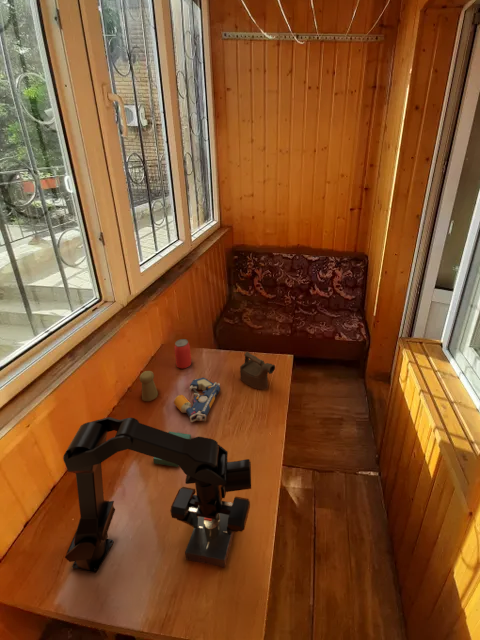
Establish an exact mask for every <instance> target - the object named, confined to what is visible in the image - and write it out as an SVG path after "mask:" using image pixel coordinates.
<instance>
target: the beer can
mask: <svg viewBox="0 0 480 640" xmlns="http://www.w3.org/2000/svg"><path fill="white" fill-rule="evenodd" d="M191 353H192V352H191V346H190V342H189V340H188V339H186V338H180V339H178V340H176V341H175V342H174V356H175V364H176V367H177V368H178V369H186V368H188V367H190V366H191V364H192V354H191Z"/></svg>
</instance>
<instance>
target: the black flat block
mask: <svg viewBox="0 0 480 640" xmlns="http://www.w3.org/2000/svg"><path fill="white" fill-rule="evenodd" d="M219 515H220V524H221V530H220V533H219V535H218V536H217V537H215V538H213V539H209V538H207V537H206V535H205V529H204V517H200V516H198V525H197V528H194V527H193V529H192V532H191V535H190V537H189V540H188V543H187V546H186V548H185V550H184V556H185V560H186V561H191V562H196V563H201V564H206V565H211V566H216V567H221V568H226V567H227V562H228V557H229V554H230V550H231V546H232V543H233V538H234V535H235V532H233V533H231V535H228V533H227V526H228V518H229V515H227V514H221V513H219Z"/></svg>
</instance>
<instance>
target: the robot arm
mask: <svg viewBox="0 0 480 640" xmlns="http://www.w3.org/2000/svg"><path fill="white" fill-rule="evenodd" d="M114 431H115V432H116V433H115V435H114V437H110V438H109V439H107V435H108V433H109V432H114ZM168 432H169V431H168ZM168 432H167V431H165V430H162V429H158V428H156V427H154V426H150V425H148V424H144V423H141V422H140V421H139V420H138V419H137V418H135V417H126V418H122V419H118V418H114V417H111V416H108V417H103V418H100V419H96V420H92V421H89V422H88V421H87V422H85V423H83V424H81V425H80V426H79V428H78V429H77V431H76V433H75V435H74V437H73V438H72V440H71V442H70V444H69V445H68V447H67V449H66V451H65V453H64V454H63V457H62V459H63V462H64V465H65V468H66V470H67V471H68V473H73V474H74V475H75V478H76V490H77V498H78V506H79V515H80V517H79V522H78V524H77V528H76V530H75V533H74V535H73V537H72V539H71V542H70V544H69V547H68V549H67V551H66V554H65V556H64V558H65V559H66V561H68V562H69V563H72V562H73V563H72V566H71V567H72V569H73V570H77V571H81V572H86V573H91V574H96V573H98V571H99V570H100V568H101V566H102V565H103V563H104V561H105V559H106V557H107V555H108V553H109V552H110V550H111V548H112V546H113V544H114V539H111V538H108V537H109V534H108V532H109V529H110V526H111V523H112V520H113V517H114V516H115V515H114V514H115V512H116V508H115V505H114V504H115V500H107V499H105V495H104V483H103V469H102V463H103V462H105V461H106V460H107V459H110V458H111V457H112V456H113V455H115V454H117V453H119V452H122V451H126V450H130V451H133V452H137V453H139V454H142V455H146V456H149V457H152V458H154V457H155V458H159V459H162V460H165V461H168V462H171V463H175V464H177V465H178V467H179V468H180V469H181V471H182V472H183V473H184V474H185V475H186V476H185V484H186V485H190V484H195V488H192V487H187V486H182V487H180V488H179V490H177V493H176V495H175V497H174V500H173V502H172V504H171V506H170V516H171V518H172V519H176V520H177V521H180V522H181V523H184V524H186V525H189V526H190V527H192V528H193V529H194V528H197V525H198V516H200V517H205V518H210V519H216V516H217V514H218V513H221V514H227V515H229V518H228V526H227V533H228V535H231V533H233V532H234V533H239V532H240V533H242V532H243V531H244V530H245V529H246V525H247V521H248V517H249V513H250V508H251V501H250V499H249V498H247V497H241V496H235V497H234V498H233V501H232V502H231V501H225V500H223V499H225V498H226V495H227V493H230V492H238V491H245V490H246V491H247V490H252V464H251V463H252V462H251V460H250V459H249V458H246V459H241V460H235V461H229V460H228V457H229V455H228V454H229V453H228V450H226V449H225V448H224V447H223V446H221V445H220V444H219V443H218V441H217V440H216V439H213V438H209V437H204V436H195V437H191V439H186V438H183V437H180V436H177V435H174V434H171V433H168Z"/></svg>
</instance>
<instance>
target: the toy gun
mask: <svg viewBox="0 0 480 640" xmlns="http://www.w3.org/2000/svg"><path fill="white" fill-rule="evenodd" d="M189 390H193V392H194V393H193V399H192V404H191V402H190V401H189V400H188V398H186V396H185V395H184V394H179V395H177V396H176V397H175V398H174V400H173V405H175V407H176V408H177V409H178V410H179V411H180V412H181V413H182V414H187V416H188V417H189V422H190V423H193V422H196V421H198V422H201V421H202V422H206V421H207V417H208V414H209V412H210V410H211V408H212V407H213V406H212V405H213V404H214V402H215V399H216V398H217V396H218V395H219V393H220V391H221V384H220V383H219V382H218V383H217V381H214V382H211V381H210V380H208V379H207V378H206V377H205V376H204V377H200V378H195V379H193V380H192V381H191V382H190V384H189ZM197 390H199V391H200V390H202V394H200V392H199V391H197Z"/></svg>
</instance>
